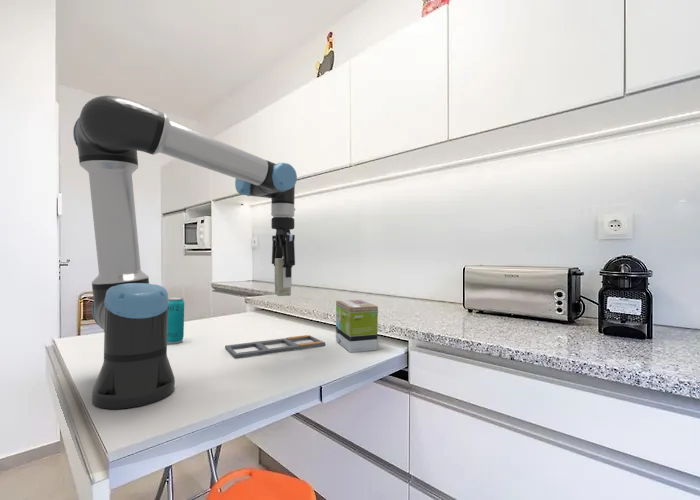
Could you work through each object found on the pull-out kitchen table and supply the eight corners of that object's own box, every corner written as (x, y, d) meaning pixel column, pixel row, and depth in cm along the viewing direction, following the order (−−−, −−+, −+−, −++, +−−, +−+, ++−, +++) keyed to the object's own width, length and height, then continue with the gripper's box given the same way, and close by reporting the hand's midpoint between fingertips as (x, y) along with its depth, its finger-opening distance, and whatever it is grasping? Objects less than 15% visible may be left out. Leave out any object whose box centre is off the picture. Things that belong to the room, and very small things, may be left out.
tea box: (334, 341, 124) (335, 299, 124) (360, 339, 127) (361, 299, 127) (349, 353, 110) (350, 306, 110) (378, 350, 113) (379, 305, 113)
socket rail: (325, 345, 118) (325, 342, 118) (234, 358, 101) (234, 354, 101) (309, 337, 128) (309, 334, 128) (225, 348, 111) (225, 345, 111)
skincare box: (291, 296, 114) (291, 258, 114) (277, 296, 112) (278, 258, 112) (287, 293, 120) (287, 257, 120) (274, 293, 118) (274, 257, 118)
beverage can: (166, 340, 120) (167, 297, 120) (184, 339, 121) (185, 296, 122) (162, 345, 114) (163, 299, 114) (181, 344, 116) (183, 299, 116)
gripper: (306, 215, 110) (306, 288, 110) (282, 219, 126) (282, 283, 126) (283, 214, 105) (283, 290, 106) (262, 218, 122) (261, 284, 122)
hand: (282, 286), depth 116 cm, fingers closed on skincare box, 7 cm apart
